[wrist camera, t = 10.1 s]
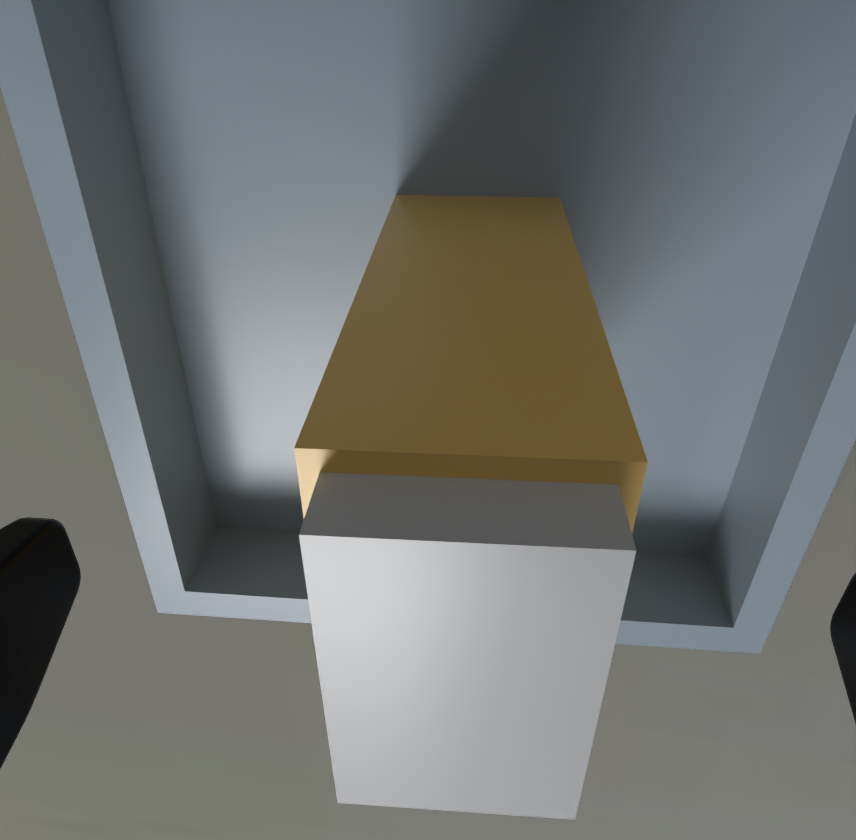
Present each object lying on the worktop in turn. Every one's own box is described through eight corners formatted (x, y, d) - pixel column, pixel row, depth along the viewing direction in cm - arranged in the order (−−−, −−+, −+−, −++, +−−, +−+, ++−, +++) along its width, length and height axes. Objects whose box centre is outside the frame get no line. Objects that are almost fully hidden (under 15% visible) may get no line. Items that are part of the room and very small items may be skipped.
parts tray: (721, 558, 18) (759, 654, 15) (201, 526, 19) (157, 612, 16) (959, -114, 10) (1113, -141, 8) (56, -126, 11) (-72, -155, 8)
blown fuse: (560, 197, 12) (669, 527, 5) (537, 406, 15) (590, 832, 7) (395, 194, 13) (269, 509, 5) (401, 402, 15) (322, 813, 8)
